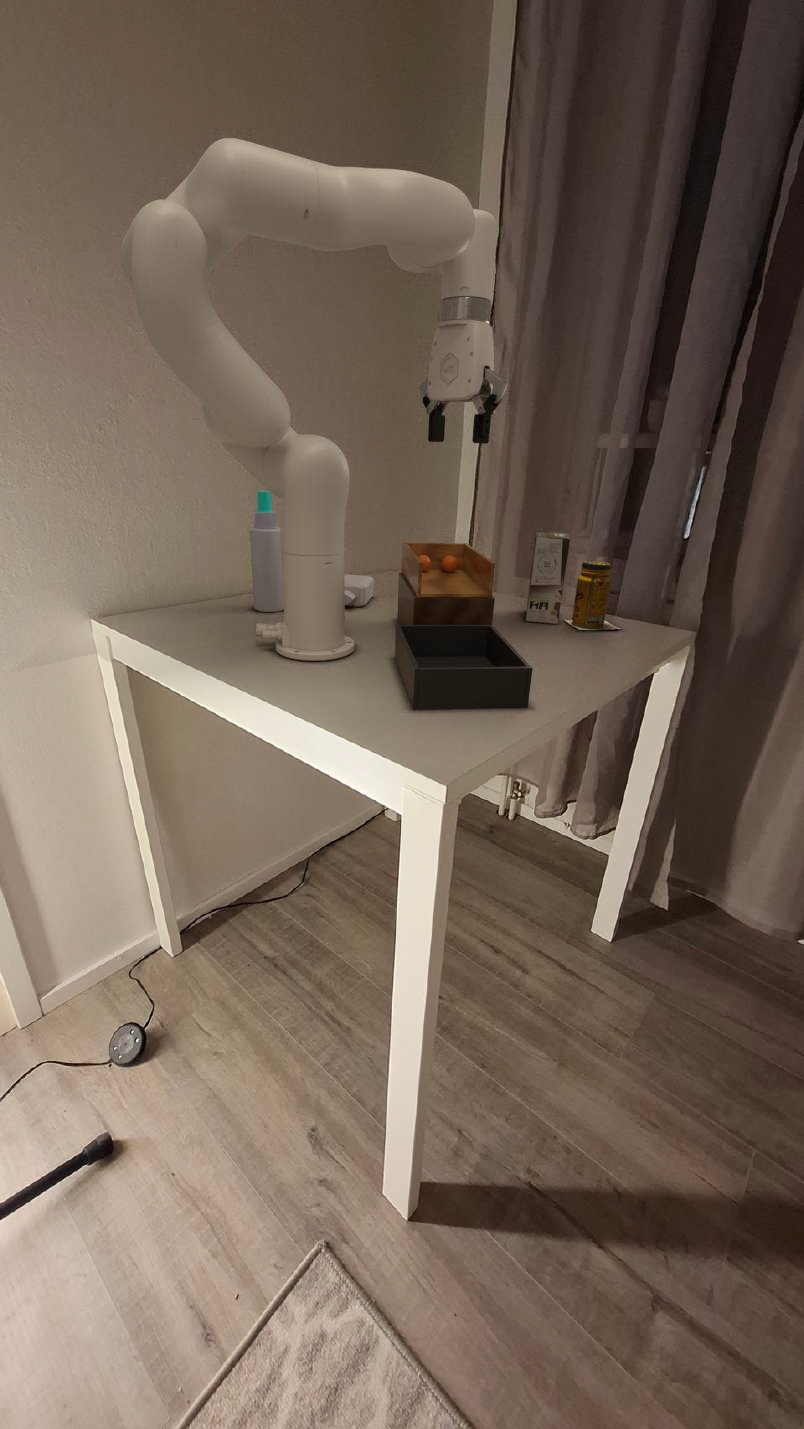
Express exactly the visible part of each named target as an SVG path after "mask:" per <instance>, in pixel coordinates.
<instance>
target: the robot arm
mask: <svg viewBox="0 0 804 1429" xmlns="http://www.w3.org/2000/svg"><path fill="white" fill-rule="evenodd" d="M497 233H498V225H497V220H496V218H495V216H494V215H493V214H491V213H490V212H489V211H486V210H483V209H477V208H473V205H472V204H471V201H470V199H469V197H468V196H467V195H466V194H465V193H464V191H463V190H461V189H460V188H458V187H457V186H456V185H454V184H452V183H450V182H448V181H446V180H442V179H438V178H436V177H432V176H429V175H426V174H423V173H419V172H415V171H411V170H404V169H398V168H397V169H396V168H377V167H376V168H375V167H374V168H373V167H359V166H335V165H330V164H327V163H324V162H323V163H322V162H319V161H316V160H313V159H309V158H305V157H303V156H300V155H295V154H293V153H289V152H285V151H282V150H278V149H275V148H271V147H268V146H265V145H263V144H262V145H261V144H259V143H255V142H252V141H248V140H244V139H241V138H240V139H239V138H235V137H223V138H220V139H218V140H216V141H214V142H213V143H212V144H210V145H209V146H208V147H207V149H206V150H205V151H204V153H203V154H202V156H200V158H199V159H198V161H197V163H196V164H195V165H194V167H193V168H192V170H191V171H190V172H189V173H188V175H187V176H186V177H185V178H184V179H183V180H182V182H181V183H180V184H179V185H178V186H177V187H176V188H175V189H174V190H173V191H172V192H171V193H170V194H169V195H168V196H167V197H166V198H165V199H163V198H162V199H156V200H152V201H149V203H147V204H145V205H143V207H142V208H140V210H139V211H138V212H137V213H136V215H135V216H134V218H133V219H132V221H131V223H130V226H129V228H128V230H127V232H126V233H125V235H124V236H123V240H122V242H121V247H120V254H119V257H120V264H121V269H122V272H123V275H124V277H125V279H126V281H127V283H128V285H129V287H130V288H131V289H132V290H133V295H134V300H135V304H136V309H137V311H138V313H139V314H138V315H139V318H140V320H141V323H142V326H143V329H144V331H145V333H146V335H147V337H148V339H149V341H150V343H151V344H152V346H153V348H154V350H155V351H156V352H157V354H158V355H159V357H160V358H161V360H162V361H163V362H164V363H165V364H166V366H167V367H168V368H169V369H170V370H171V372H173V374H174V375H175V376H176V377H177V378H178V379H179V380H180V381H181V382H182V383H183V384H184V385H185V386H186V388H187V389H188V390H189V391H190V393H192V394H193V395H194V396H195V397H196V398H197V399H198V400H199V402H200V403H201V404H202V414H203V418H204V422H205V424H206V427H207V428H208V430H209V431H210V433H211V434H212V435H213V437H214V439H215V440H216V441H217V442H218V443H219V444H220V445H221V446H222V447H223V448H224V449H225V450H226V451H227V453H229V454H230V455H231V456H232V457H233V458H234V459H235V460H236V461H237V462H238V463H239V464H240V465H241V466H242V467H243V468H244V469H246V470H247V472H248V473H249V474H250V475H251V476H252V477H254V479H256V480H257V481H258V482H259V483H260V484H261V486H263V487H264V488H265V489H266V490H267V491H270V492H271V494H273V495H274V496H276V497H278V498H281V499H283V500H282V508H281V516H280V527H279V528H280V538H281V556H282V579H283V602H284V609H283V617H282V621H276V624H268V623H256V625H255V632H256V637H262V639H263V640H268V639H269V640H270V639H271V640H272V639H277V640H276V641H275V651H276V652H277V653H278V654H279V655H280V656H282V657H286V658H288V659H293V660H297V661H298V660H299V661H309V662H310V661H311V662H313V661H314V662H315V661H316V662H317V661H318V662H319V661H330V660H336V659H341V658H345V657H346V656H348V655H350V654H352V653H353V652H354V651H355V641H354V640H353V638H351V637H349V636H348V635H346V634H345V633H346V626H345V625H346V622H345V621H346V616H345V615H346V613H345V612H346V609H345V608H346V606H345V574H346V573H345V526H346V525H345V524H346V523H345V522H346V511H347V505H348V500H349V491H350V483H351V480H350V479H351V478H350V477H351V475H350V468H349V467H350V466H349V463H348V460H347V458H346V456H345V454H344V453H343V451H342V449H341V448H340V447H339V446H338V445H337V444H336V443H335V442H334V441H332V440H331V439H329V438H327V437H325V436H321V435H318V434H308V433H306V434H305V433H304V434H303V433H301V434H300V433H299V434H298V433H297V432H296V431H295V430H294V429H293V428H292V426H291V425H290V424H291V410H290V404H289V402H288V400H287V397H286V396H285V395H284V393H283V391H282V390H281V388H279V386H278V385H277V384H276V383H275V382H274V381H273V380H272V379H271V378H270V377H269V375H268V374H266V372H265V371H264V370H263V369H262V368H261V367H260V366H259V364H258V363H257V362H256V361H255V360H254V359H253V357H252V356H250V354H249V353H248V352H247V351H246V350H245V349H244V347H243V346H242V345H241V344H240V343H239V342H238V341H237V340H236V338H235V337H234V336H233V335H232V333H231V332H230V330H229V329H228V328H227V327H226V326H225V324H224V322H222V320H221V319H220V317H219V316H218V313H217V312H216V310H215V308H214V306H213V302H212V300H211V297H210V296H211V295H210V292H209V286H208V275H209V274H210V273H211V272H212V271H213V270H214V269H215V268H216V267H217V266H218V265H219V264H220V263H221V262H222V261H223V260H224V259H225V258H226V257H227V256H228V255H229V254H230V252H232V251H233V250H234V249H235V247H236V246H238V244H239V243H241V241H243V240H244V239H245V238H246V237H247V236H253V237H257V238H258V237H259V238H263V239H268V240H271V241H272V240H273V241H277V242H280V243H285V244H291V245H294V246H300V247H303V248H308V249H311V250H312V249H313V250H315V251H319V252H320V251H321V252H344V251H351V250H354V249H355V250H356V249H359V248H365V247H371V246H382V245H384V246H386V250H387V253H388V255H389V257H390V259H391V260H392V262H393V263H394V264H395V265H396V267H398V268H400V269H401V270H403V271H406V272H409V273H416V274H419V273H420V274H421V273H422V274H423V273H440V274H441V283H440V284H441V285H440V307H439V308H440V309H439V310H440V311H439V312H438V313H437V321H438V322H439V327H438V328H435V331H434V335H433V340H432V343H431V351H430V357H429V358H430V359H429V367H428V378H427V379H425V380H424V381H423V382H422V383H421V384H420V385H419V391H420V394H421V395H420V396H421V399H422V400H421V401H422V405H423V406H424V407H425V413H426V415H427V416H428V432H427V441H428V442H429V443H443V442H444V441H445V432H446V415H444V414H443V413H444V412H445V410H446V408H447V407H448V405H449V403H472V404H473V406H474V407H475V410H476V411H477V413H475V414H474V416H473V425H472V439H471V440H472V441H471V442H472V443H473V444H484V445H485V444H489V442H490V433H491V432H490V431H491V420H492V416H494V415H495V414H496V409H497V408H498V406H500V404H501V402H502V400H503V398H502V397H503V396H504V394H505V391H506V389H507V387H508V381H507V380H506V379H504V378H503V376H500V375H499V374H498V373H496V372H495V371H494V370H495V369H494V368H495V366H494V365H495V344H494V333H493V327H492V326H491V315H492V300H493V288H494V286H493V285H494V276H495V275H494V274H495V261H496V247H497V235H498V234H497Z"/></svg>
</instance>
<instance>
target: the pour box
mask: <svg viewBox="0 0 804 1429" xmlns="http://www.w3.org/2000/svg"><path fill="white" fill-rule="evenodd" d="M401 547H402V549H401V573H402V574H403V575H404V577H405V578H406V580H407V581H408V583H409V585H410V586H411V588H412V589H413V591H414V593H415V594H416V596H417V597H485V598H492V596H493V589H494V580H495V579H494V578H495V568H496V563H495V562H494V561H493V560H491V559H490V558H488V557H487V556H485V555H484V554H482V553H481V552H480V551H478V550H477V549H475V548H474V547H472V545H470V544H468V543H465V542H464V543H463V542H462V543H459V542H457V543H456V542H410V541H409V542H406V541H405V542H402V546H401ZM420 555H426V556H428V557H429V559H430V561H431V566H430V568H429V569H428V570H427V571H425V572H422V566H423V562H422V561H421V560H420V559H419V558H418V556H420ZM448 555H452V556H454V557H455V558H456V559H457V561H458V566H457V568H456V570H455V571H453V572H446V571H445V570H444V569H443V568H442V560H443V558H444V557H446V556H448Z"/></svg>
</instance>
